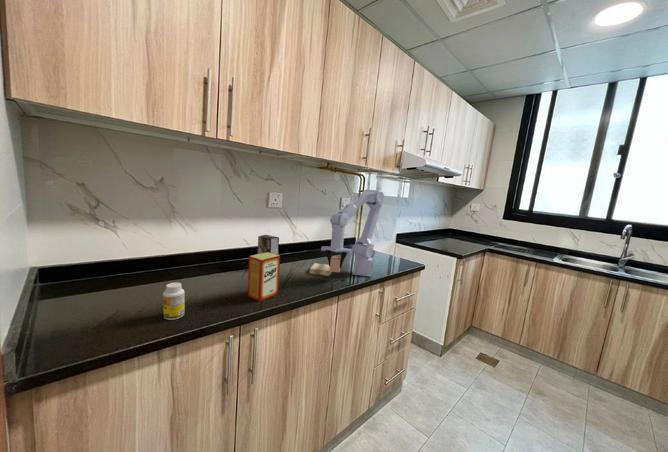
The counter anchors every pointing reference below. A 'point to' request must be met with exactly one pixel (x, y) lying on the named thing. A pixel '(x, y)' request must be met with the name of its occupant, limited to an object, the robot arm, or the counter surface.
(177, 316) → the supplement bottle
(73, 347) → the counter surface
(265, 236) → the grey tall block
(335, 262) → the pinkish brown block
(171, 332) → the counter surface
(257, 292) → the baking soda box
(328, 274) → the oak block
